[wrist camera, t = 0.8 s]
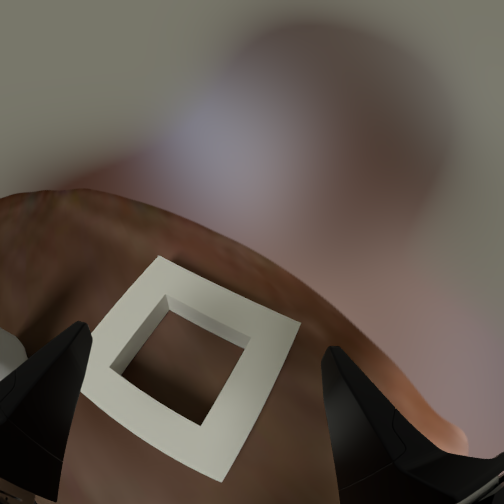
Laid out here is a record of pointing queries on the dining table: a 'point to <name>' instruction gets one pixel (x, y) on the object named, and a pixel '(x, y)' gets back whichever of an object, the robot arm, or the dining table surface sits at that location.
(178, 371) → the dining table surface
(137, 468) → the dining table surface
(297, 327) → the grey block
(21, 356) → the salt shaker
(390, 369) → the dining table surface
